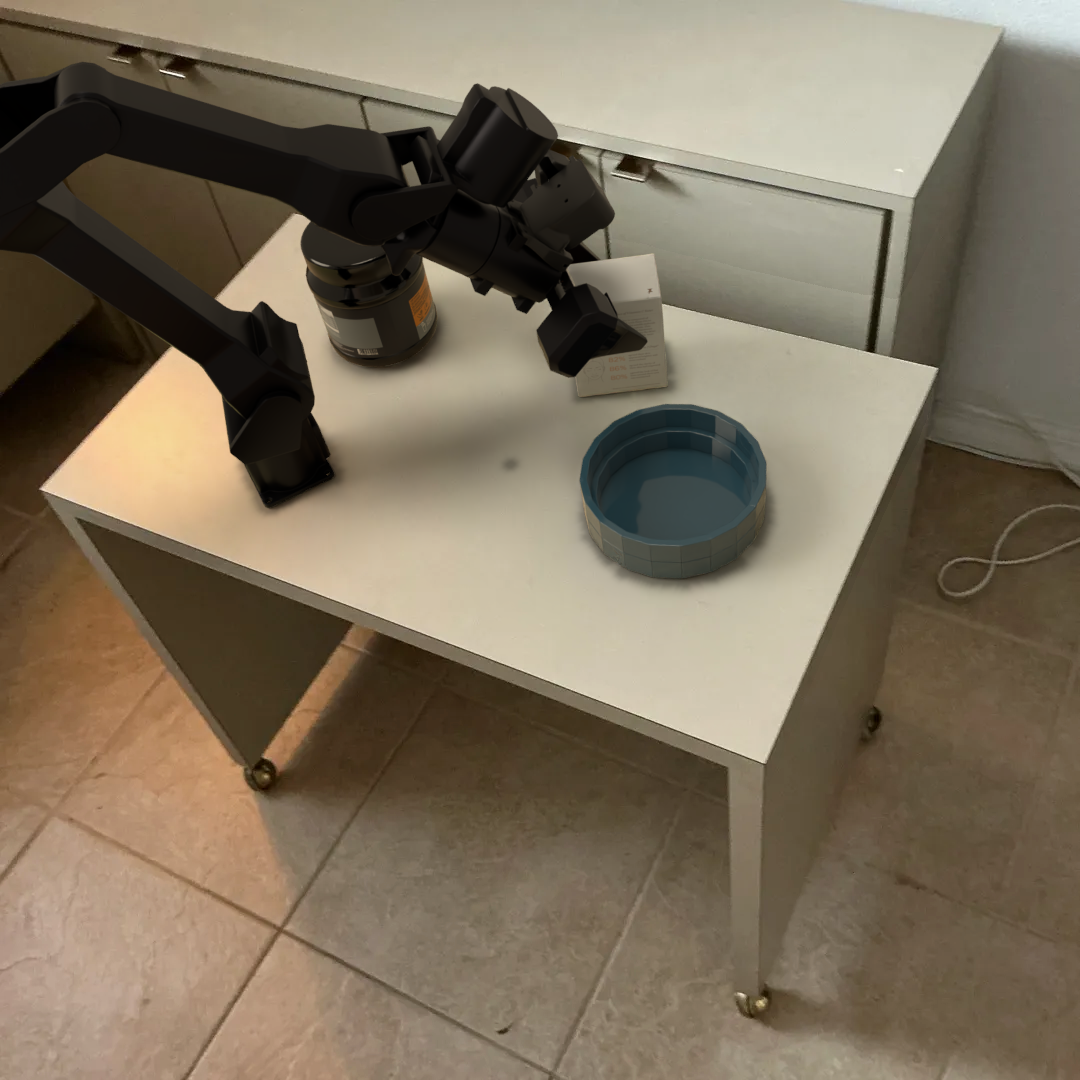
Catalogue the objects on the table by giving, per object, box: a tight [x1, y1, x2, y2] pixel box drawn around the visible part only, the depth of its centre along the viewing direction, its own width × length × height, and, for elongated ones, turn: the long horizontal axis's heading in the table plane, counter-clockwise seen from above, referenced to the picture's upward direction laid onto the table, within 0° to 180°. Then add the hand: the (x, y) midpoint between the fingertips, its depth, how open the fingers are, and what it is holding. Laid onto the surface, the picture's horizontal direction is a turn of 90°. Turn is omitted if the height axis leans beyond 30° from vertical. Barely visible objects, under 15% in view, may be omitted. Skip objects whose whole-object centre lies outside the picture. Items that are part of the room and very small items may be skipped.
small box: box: [568, 252, 669, 398], centre depth 96 cm, size 8×6×10 cm
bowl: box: [579, 403, 768, 579], centre depth 88 cm, size 14×14×4 cm
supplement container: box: [299, 220, 439, 368], centre depth 102 cm, size 10×10×12 cm
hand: (625, 309), depth 94 cm, fingers open, 9 cm apart
